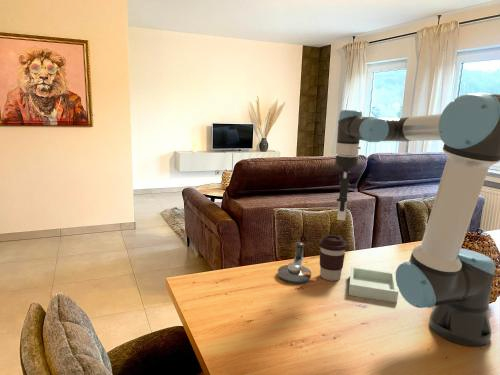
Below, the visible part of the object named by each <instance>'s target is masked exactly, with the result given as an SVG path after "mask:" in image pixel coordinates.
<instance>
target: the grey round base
mask: <svg viewBox="0 0 500 375" xmlns="http://www.w3.org/2000/svg"><path fill="white" fill-rule="evenodd" d="M277 278H278V279H279V280H280V281H282V282H284V283H285V284H286V283H287V284H290V285H302V284H303V285H304V284H307V283H309V282H310V281H313V282H317V279H318V278H314V277H312V271H311V269H309V268H308V267H306V266H303V265H302V272H301V273H298V274H294V273H290V272H288V264H285V265H282V266H280V267H278V269H277Z"/></svg>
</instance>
